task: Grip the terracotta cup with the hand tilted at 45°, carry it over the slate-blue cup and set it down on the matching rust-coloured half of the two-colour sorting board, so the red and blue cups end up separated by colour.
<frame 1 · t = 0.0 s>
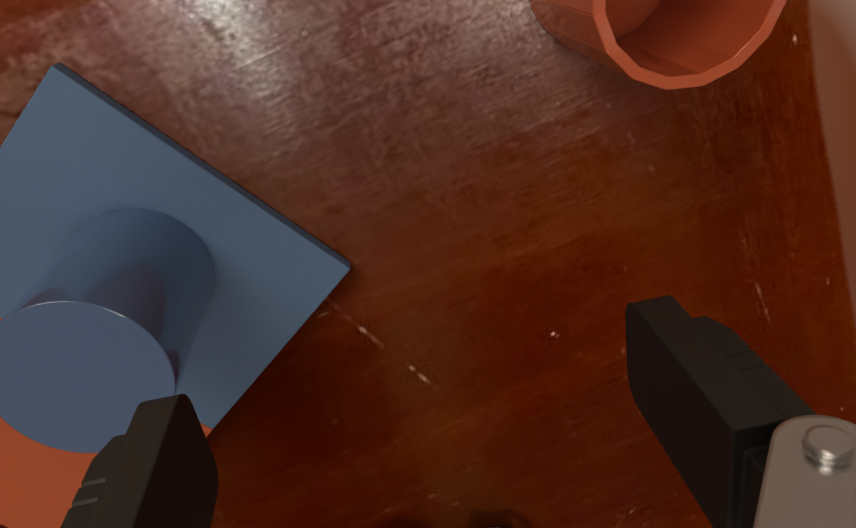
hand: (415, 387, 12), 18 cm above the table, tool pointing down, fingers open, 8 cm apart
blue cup: (143, 272, 29), point 1 cm above the table, touching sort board
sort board: (84, 349, 31), on the table
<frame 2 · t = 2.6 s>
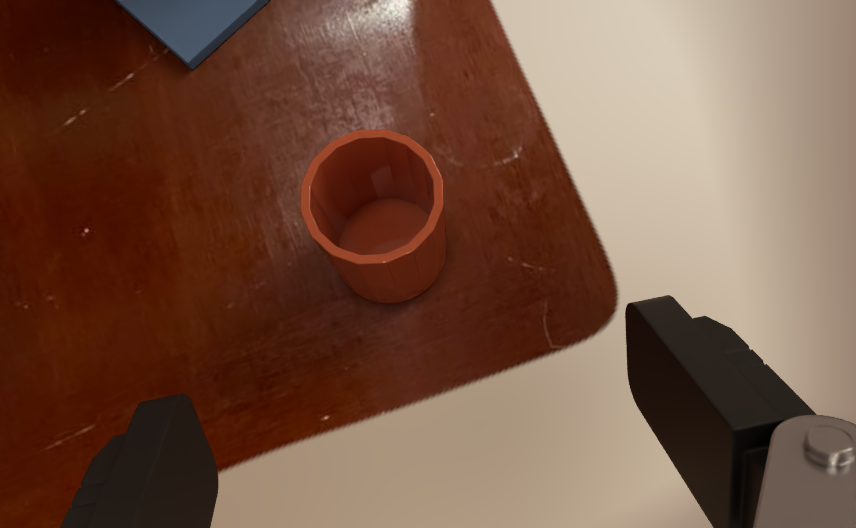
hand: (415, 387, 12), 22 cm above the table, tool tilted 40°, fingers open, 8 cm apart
red cup: (390, 248, 36), on the table
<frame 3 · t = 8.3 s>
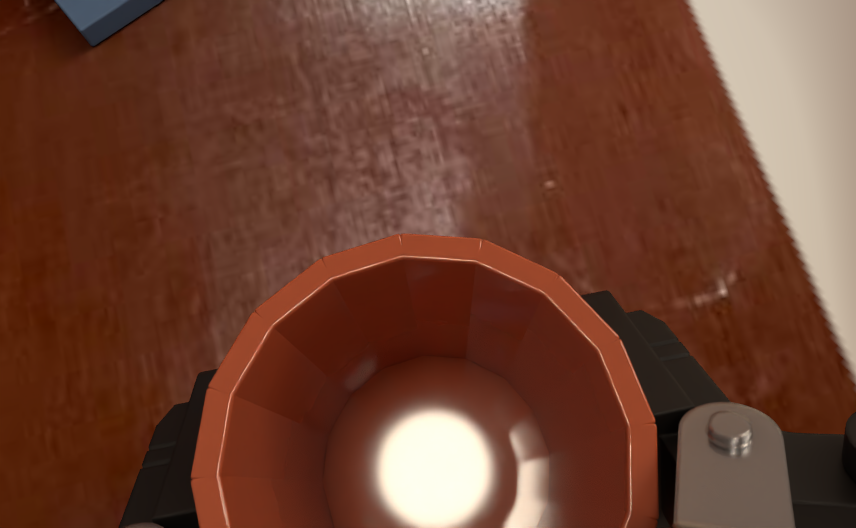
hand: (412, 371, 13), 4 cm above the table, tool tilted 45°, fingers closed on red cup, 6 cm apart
red cup: (436, 468, 16), on the table, touching gripper
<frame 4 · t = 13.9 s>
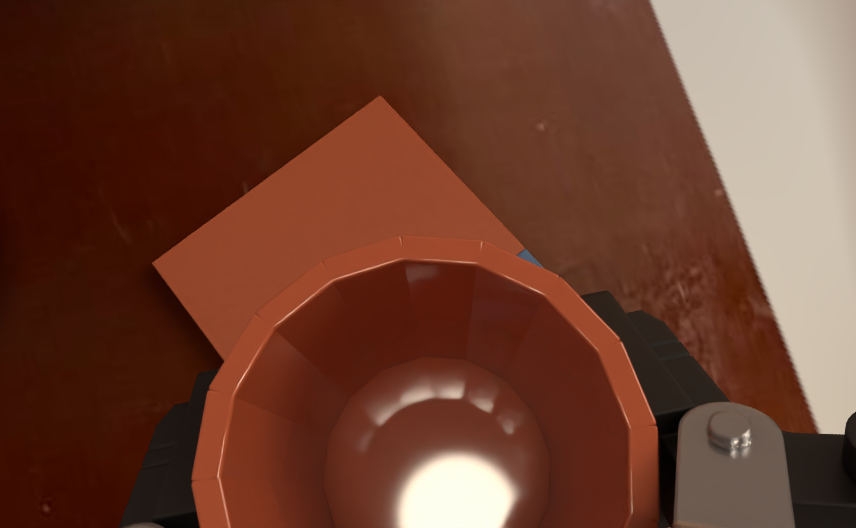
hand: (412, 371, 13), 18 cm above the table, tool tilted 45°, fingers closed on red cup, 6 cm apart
red cup: (437, 470, 16), point 14 cm above the table, touching gripper
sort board: (411, 346, 31), on the table
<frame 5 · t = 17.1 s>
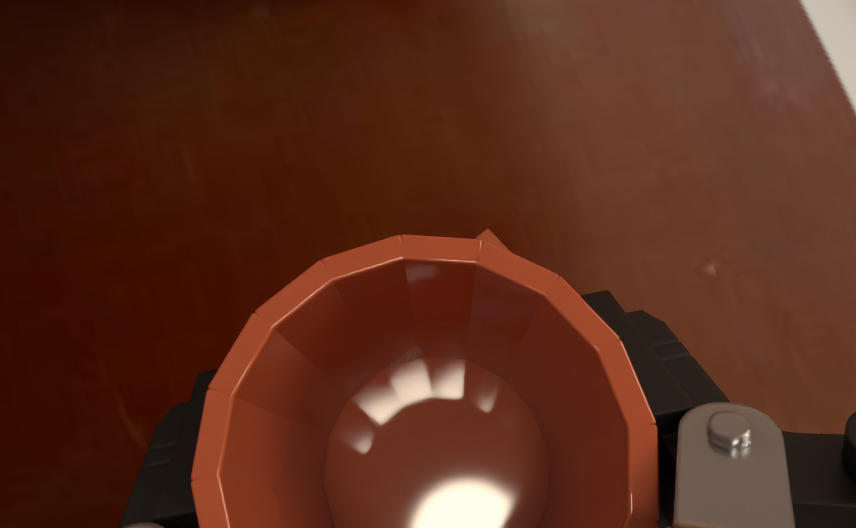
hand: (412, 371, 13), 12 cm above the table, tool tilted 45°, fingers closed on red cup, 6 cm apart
red cup: (436, 469, 16), point 7 cm above the table, touching gripper
when the fingers open (5 cm above the table, at t = 19.4 s): red cup stays where it is, resting on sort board.
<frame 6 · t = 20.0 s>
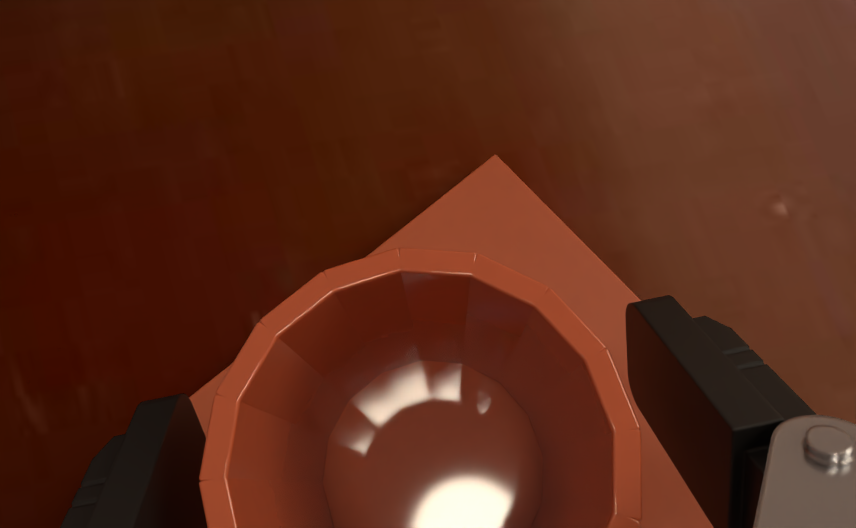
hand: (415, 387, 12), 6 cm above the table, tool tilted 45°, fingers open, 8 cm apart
red cup: (433, 470, 17), point 1 cm above the table, touching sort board
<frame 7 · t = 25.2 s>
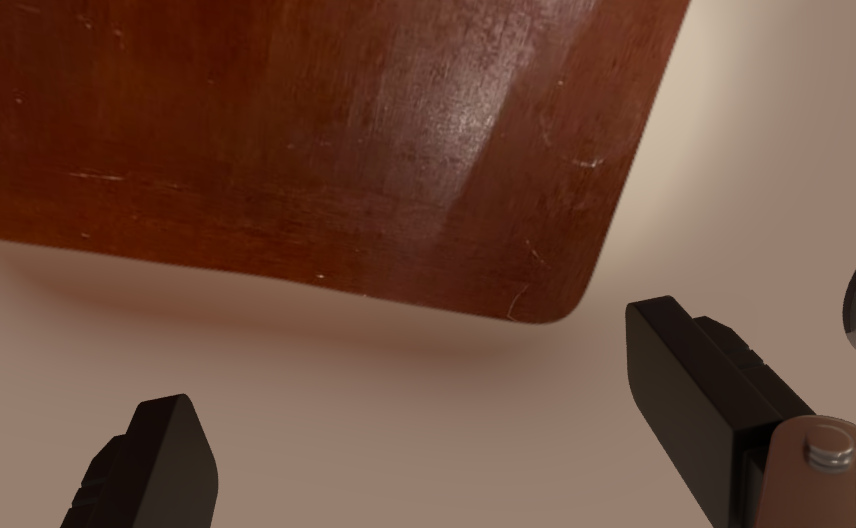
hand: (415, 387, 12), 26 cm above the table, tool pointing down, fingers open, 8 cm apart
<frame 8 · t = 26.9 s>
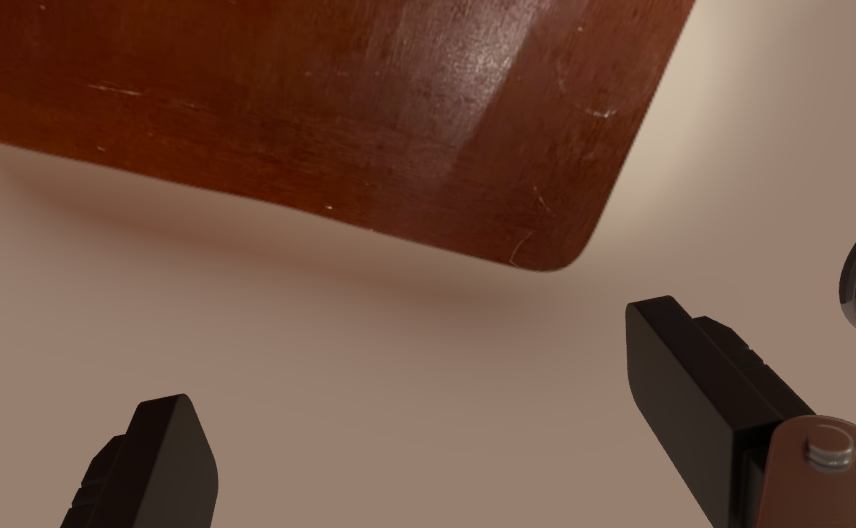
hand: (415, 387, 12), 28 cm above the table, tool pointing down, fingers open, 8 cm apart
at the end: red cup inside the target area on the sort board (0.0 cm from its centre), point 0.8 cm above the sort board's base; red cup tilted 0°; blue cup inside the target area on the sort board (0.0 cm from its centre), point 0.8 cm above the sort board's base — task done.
